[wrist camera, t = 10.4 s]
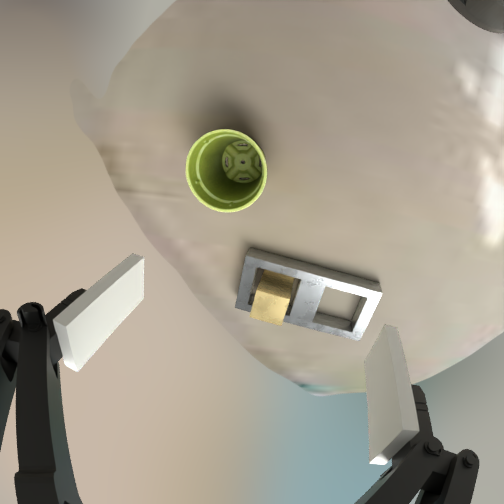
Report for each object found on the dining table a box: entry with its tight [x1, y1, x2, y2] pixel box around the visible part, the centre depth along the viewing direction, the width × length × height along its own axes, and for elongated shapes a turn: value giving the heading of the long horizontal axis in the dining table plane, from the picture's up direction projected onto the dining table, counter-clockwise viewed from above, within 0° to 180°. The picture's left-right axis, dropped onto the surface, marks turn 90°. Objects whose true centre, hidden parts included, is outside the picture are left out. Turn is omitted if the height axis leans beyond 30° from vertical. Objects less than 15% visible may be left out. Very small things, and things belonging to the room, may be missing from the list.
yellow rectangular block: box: [250, 270, 294, 326], centre depth 44 cm, size 4×4×7 cm
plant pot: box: [186, 129, 267, 212], centre depth 37 cm, size 9×9×9 cm
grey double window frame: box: [235, 248, 382, 341], centre depth 45 cm, size 9×20×3 cm, turn 78°
